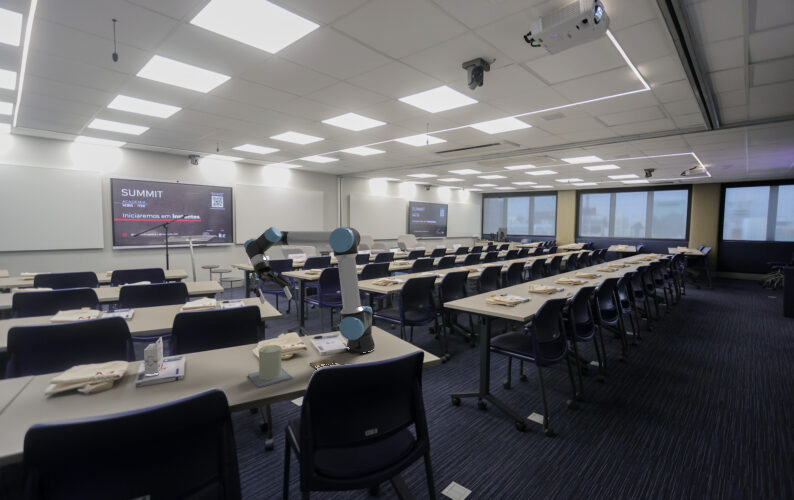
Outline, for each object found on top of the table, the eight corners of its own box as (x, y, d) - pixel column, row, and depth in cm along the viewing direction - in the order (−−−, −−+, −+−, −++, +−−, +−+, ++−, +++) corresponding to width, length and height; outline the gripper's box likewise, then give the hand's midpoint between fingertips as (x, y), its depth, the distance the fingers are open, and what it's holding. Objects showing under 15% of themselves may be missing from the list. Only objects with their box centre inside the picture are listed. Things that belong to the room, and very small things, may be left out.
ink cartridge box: (150, 369, 151) (149, 336, 151) (163, 368, 153) (162, 335, 153) (144, 377, 144) (143, 342, 143) (158, 376, 145) (157, 341, 145)
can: (253, 377, 144) (253, 348, 144) (271, 369, 152) (271, 342, 152) (269, 381, 140) (269, 352, 139) (286, 373, 148) (286, 346, 148)
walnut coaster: (330, 359, 168) (330, 358, 168) (342, 366, 159) (342, 365, 159) (309, 364, 161) (309, 363, 161) (320, 372, 153) (320, 370, 152)
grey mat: (280, 368, 156) (280, 366, 156) (292, 378, 145) (292, 377, 145) (247, 376, 147) (247, 374, 147) (258, 387, 136) (258, 385, 136)
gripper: (281, 268, 181) (297, 301, 172) (233, 272, 163) (248, 308, 154) (286, 259, 178) (303, 292, 169) (238, 262, 159) (254, 298, 150)
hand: (277, 300), depth 161 cm, fingers open, 13 cm apart
